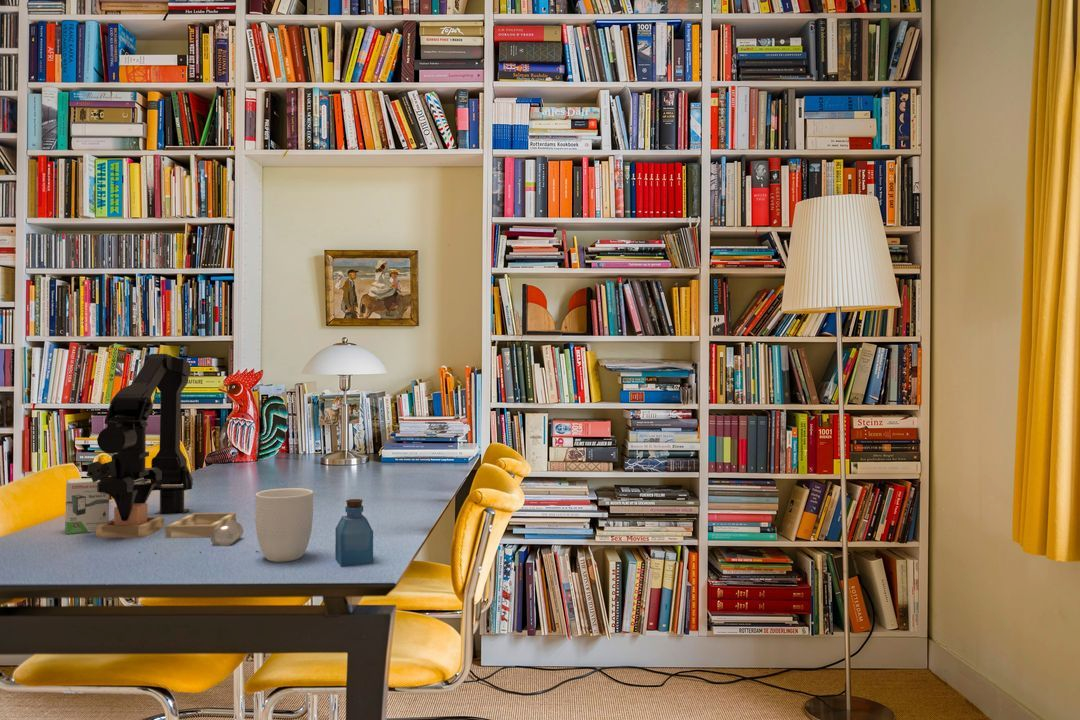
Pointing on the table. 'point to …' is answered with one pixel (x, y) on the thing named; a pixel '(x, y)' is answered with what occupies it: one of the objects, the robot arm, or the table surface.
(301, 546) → the mug
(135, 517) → the cube
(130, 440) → the robot arm
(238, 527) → the grey rounded piece
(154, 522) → the oak box
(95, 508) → the ink box
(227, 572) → the table surface
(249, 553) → the table surface
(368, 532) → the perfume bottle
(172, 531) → the birch box
